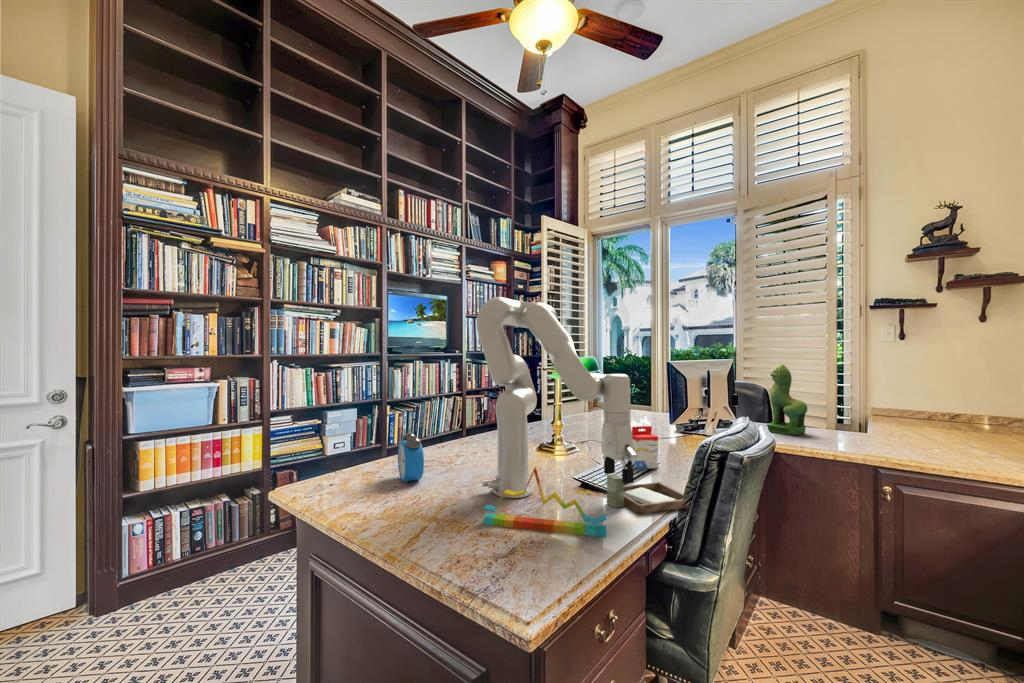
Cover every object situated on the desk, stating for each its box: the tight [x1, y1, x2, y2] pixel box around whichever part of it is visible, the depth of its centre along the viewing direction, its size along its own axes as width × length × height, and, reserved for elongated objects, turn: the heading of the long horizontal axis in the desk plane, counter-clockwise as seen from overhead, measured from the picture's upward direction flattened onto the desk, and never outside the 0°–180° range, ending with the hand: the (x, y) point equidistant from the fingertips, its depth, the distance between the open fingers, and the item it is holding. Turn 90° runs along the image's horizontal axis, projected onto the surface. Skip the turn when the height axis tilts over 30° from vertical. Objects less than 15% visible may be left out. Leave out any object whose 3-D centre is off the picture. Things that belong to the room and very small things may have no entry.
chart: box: [483, 467, 607, 538], centre depth 112 cm, size 30×3×15 cm, turn 77°
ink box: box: [631, 425, 659, 470], centre depth 166 cm, size 8×5×15 cm, turn 102°
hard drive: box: [624, 487, 676, 504], centre depth 131 cm, size 2×8×12 cm
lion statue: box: [766, 364, 808, 436], centre depth 230 cm, size 14×17×35 cm
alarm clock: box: [397, 432, 425, 485], centre depth 148 cm, size 13×6×15 cm, turn 25°
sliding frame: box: [606, 473, 694, 515], centre depth 130 cm, size 22×16×8 cm
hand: (618, 477), depth 127 cm, fingers open, 9 cm apart
